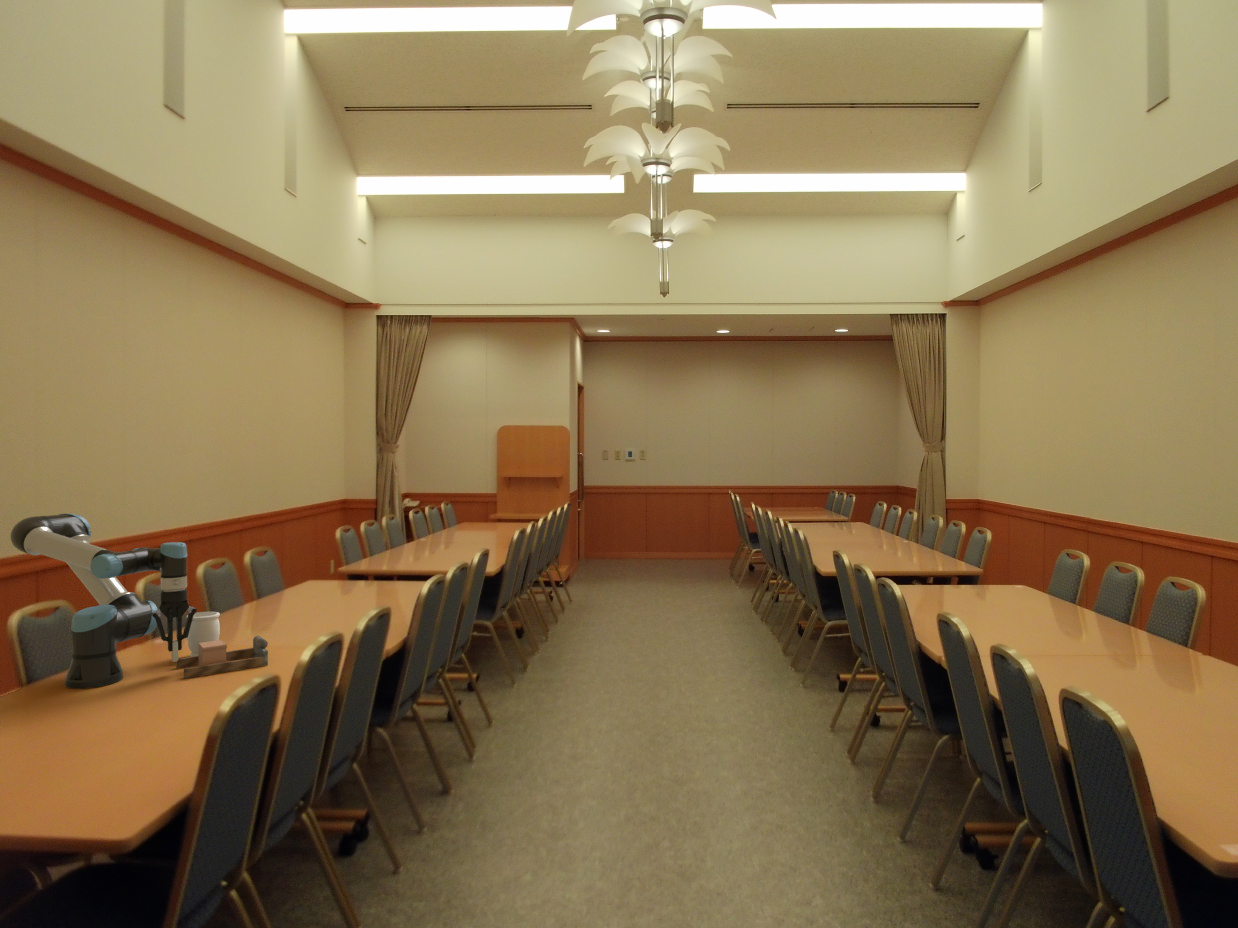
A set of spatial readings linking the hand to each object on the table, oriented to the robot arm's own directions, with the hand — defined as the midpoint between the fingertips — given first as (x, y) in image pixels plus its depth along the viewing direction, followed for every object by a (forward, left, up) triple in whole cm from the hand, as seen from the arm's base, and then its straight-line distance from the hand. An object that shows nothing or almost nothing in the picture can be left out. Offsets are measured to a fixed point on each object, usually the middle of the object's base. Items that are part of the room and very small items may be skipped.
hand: (174, 660), depth 246 cm
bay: (+15, 0, -5) cm, 15 cm away
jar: (+12, +19, -5) cm, 23 cm away
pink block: (+11, 0, -5) cm, 12 cm away
